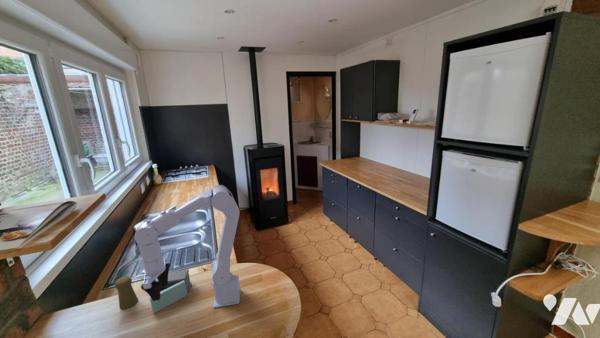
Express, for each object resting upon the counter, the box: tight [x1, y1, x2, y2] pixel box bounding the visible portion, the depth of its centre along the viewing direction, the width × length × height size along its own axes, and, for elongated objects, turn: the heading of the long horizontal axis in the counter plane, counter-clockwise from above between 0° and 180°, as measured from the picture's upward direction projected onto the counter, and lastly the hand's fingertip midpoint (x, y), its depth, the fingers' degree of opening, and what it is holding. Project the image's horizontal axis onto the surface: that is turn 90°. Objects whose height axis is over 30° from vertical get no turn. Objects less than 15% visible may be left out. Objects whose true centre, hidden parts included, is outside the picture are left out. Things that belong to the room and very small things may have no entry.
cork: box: [114, 276, 139, 311], centre depth 94 cm, size 6×6×11 cm
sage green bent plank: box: [149, 280, 188, 314], centre depth 93 cm, size 12×1×6 cm, turn 135°
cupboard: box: [155, 268, 192, 295], centre depth 100 cm, size 13×6×7 cm, turn 100°
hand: (160, 292), depth 85 cm, fingers open, 6 cm apart
